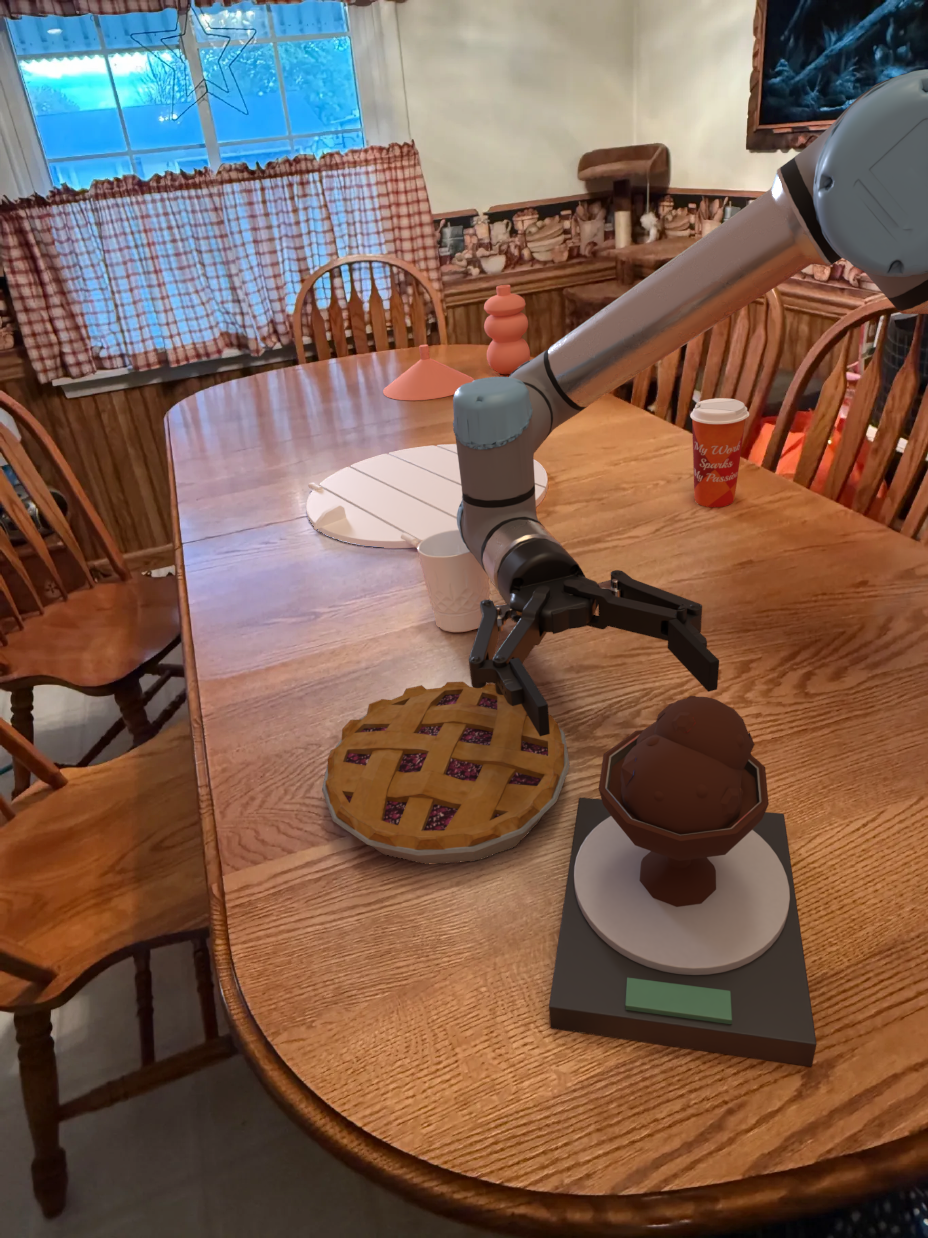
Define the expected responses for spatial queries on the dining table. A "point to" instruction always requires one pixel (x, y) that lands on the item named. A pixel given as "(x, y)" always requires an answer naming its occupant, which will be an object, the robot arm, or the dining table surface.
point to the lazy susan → (395, 497)
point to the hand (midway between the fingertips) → (630, 698)
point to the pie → (444, 774)
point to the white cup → (453, 581)
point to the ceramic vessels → (502, 353)
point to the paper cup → (717, 449)
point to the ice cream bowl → (685, 795)
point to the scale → (683, 949)
